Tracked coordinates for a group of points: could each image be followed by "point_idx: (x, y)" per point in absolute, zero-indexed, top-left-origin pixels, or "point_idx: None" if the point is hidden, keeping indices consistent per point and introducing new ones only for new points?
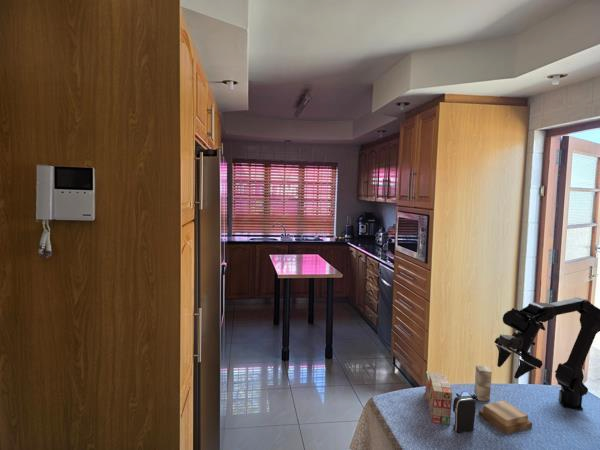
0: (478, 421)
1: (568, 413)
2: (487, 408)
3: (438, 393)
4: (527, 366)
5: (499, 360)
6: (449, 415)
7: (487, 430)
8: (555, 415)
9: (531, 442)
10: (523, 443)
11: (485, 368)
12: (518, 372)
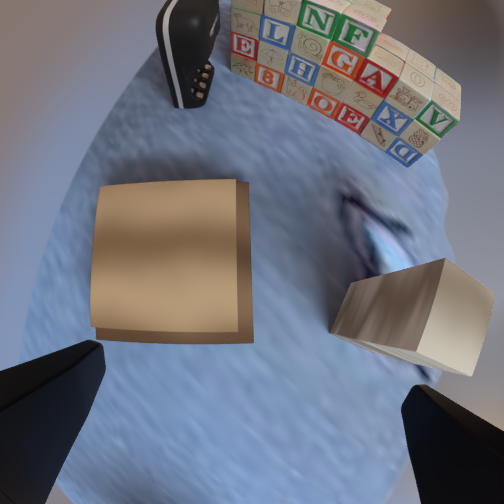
0: (211, 159)
1: None
2: (209, 181)
3: None
4: None
5: (458, 422)
6: (232, 46)
7: (156, 151)
8: (154, 492)
9: (53, 248)
10: (60, 216)
11: (461, 337)
12: (19, 370)
